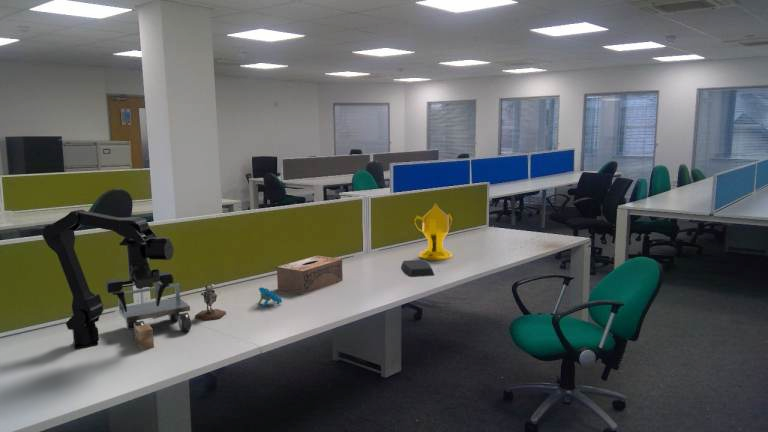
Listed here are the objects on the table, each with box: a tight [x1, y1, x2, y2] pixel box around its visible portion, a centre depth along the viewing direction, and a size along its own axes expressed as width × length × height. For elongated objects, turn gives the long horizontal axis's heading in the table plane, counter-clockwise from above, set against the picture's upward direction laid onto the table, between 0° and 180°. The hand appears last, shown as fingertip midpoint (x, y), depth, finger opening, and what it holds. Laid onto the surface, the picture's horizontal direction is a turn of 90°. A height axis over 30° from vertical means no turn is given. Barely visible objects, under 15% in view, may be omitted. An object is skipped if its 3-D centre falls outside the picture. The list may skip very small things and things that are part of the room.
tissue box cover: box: [276, 255, 344, 295], centre depth 244 cm, size 26×14×10 cm, turn 146°
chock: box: [134, 323, 155, 351], centre depth 176 cm, size 4×6×6 cm, turn 35°
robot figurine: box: [194, 283, 227, 322], centre depth 204 cm, size 11×9×12 cm
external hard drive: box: [400, 259, 435, 278], centre depth 267 cm, size 13×19×4 cm
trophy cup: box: [413, 203, 453, 261], centre depth 296 cm, size 18×24×28 cm
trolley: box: [117, 283, 192, 339], centre depth 190 cm, size 20×20×12 cm
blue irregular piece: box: [257, 286, 283, 307], centre depth 216 cm, size 11×6×10 cm
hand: (141, 308), depth 174 cm, fingers open, 9 cm apart
